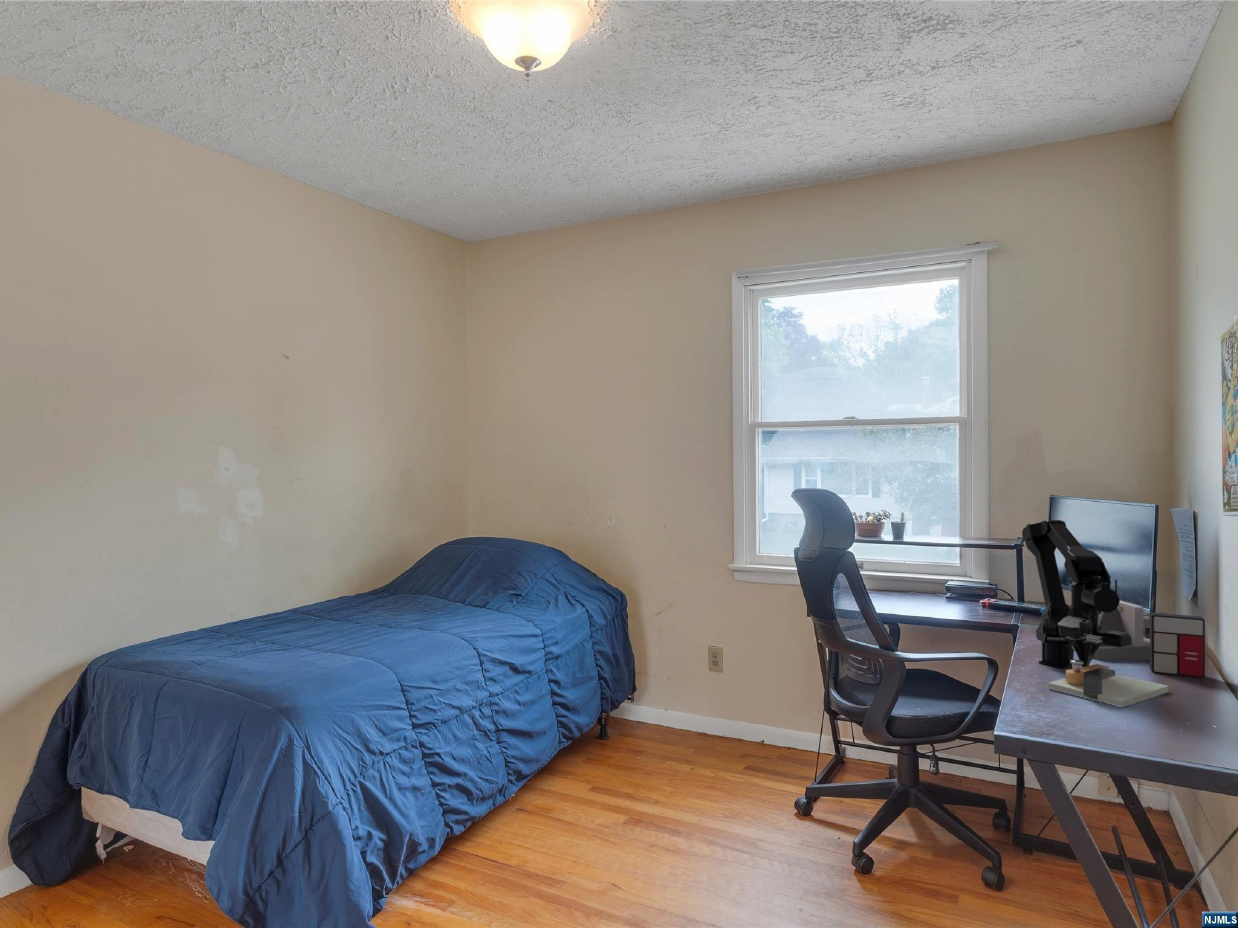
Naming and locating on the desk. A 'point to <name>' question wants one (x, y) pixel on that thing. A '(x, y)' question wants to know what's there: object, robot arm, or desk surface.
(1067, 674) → the link
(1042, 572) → the robot arm
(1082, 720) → the desk surface
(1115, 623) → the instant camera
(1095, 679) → the keeper
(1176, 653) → the calculator
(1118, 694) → the base board
